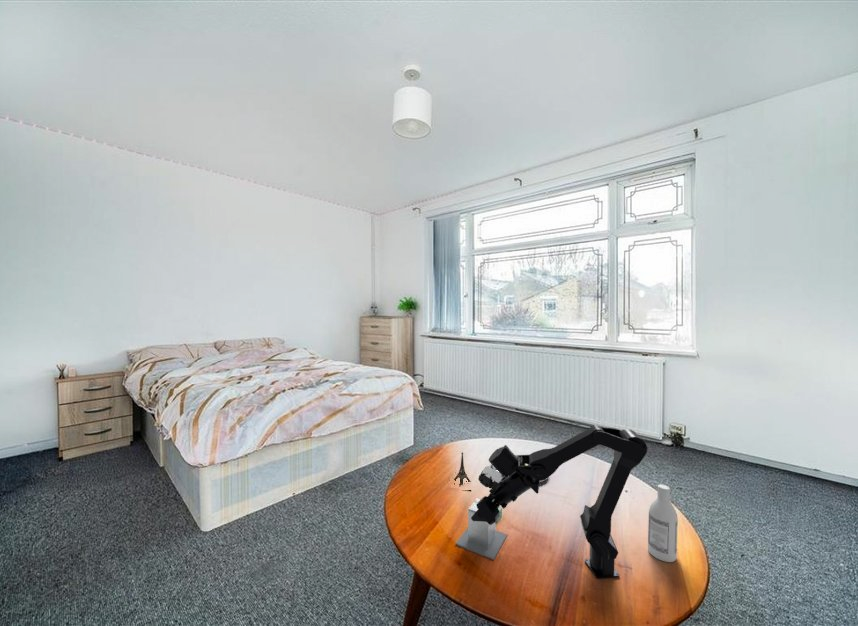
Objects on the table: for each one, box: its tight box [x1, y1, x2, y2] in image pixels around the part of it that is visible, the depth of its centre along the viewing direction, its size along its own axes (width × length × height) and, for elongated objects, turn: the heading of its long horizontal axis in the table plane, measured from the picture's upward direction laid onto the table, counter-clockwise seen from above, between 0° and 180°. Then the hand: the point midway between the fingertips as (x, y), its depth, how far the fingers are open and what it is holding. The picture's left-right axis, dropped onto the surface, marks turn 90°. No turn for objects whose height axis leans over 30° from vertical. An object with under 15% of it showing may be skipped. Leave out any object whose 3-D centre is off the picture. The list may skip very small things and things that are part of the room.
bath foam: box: [647, 483, 679, 563], centre depth 101 cm, size 7×7×20 cm
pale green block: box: [496, 506, 503, 523], centre depth 118 cm, size 4×4×3 cm
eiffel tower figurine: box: [453, 451, 472, 486], centre depth 142 cm, size 15×10×13 cm
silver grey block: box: [467, 498, 497, 549], centre depth 106 cm, size 6×6×10 cm
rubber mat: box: [455, 526, 508, 561], centre depth 106 cm, size 12×12×1 cm
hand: (478, 511), depth 107 cm, fingers open, 9 cm apart
